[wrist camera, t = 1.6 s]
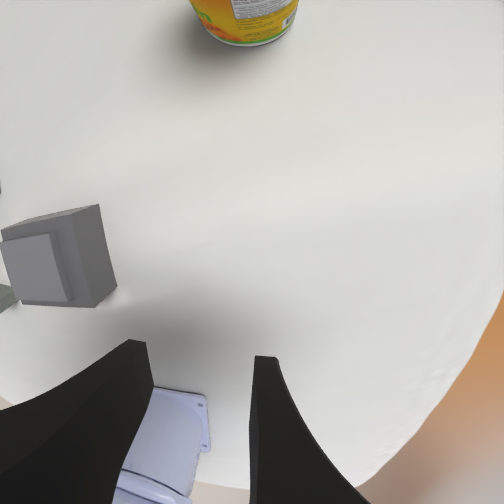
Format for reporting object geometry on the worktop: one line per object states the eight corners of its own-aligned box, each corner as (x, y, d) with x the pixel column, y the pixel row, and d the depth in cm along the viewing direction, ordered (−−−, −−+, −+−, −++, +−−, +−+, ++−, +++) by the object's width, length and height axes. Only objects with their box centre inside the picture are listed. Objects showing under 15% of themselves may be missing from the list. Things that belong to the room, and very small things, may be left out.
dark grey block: (118, 284, 19) (88, 313, 15) (46, 286, 20) (16, 308, 16) (100, 203, 17) (62, 217, 13) (29, 218, 18) (-7, 232, 14)
